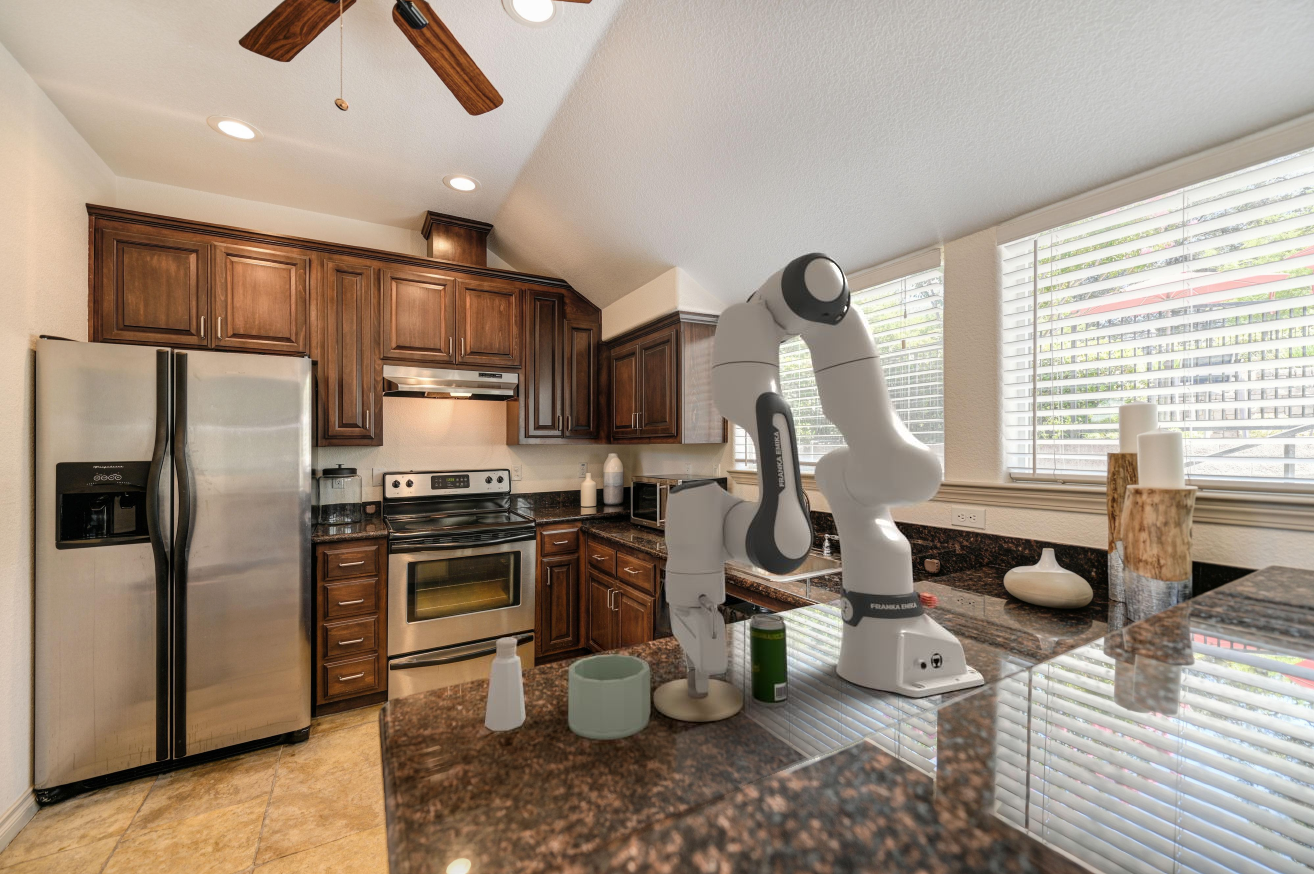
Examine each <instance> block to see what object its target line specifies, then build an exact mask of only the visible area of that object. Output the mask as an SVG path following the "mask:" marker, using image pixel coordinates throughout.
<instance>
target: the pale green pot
mask: <svg viewBox="0 0 1314 874" xmlns="http://www.w3.org/2000/svg"><path fill="white" fill-rule="evenodd" d="M567 703H568V709H567V710H568V716H567V717H568V719H567V721H568V724H567V725H568V728H569V729H570V730H571V731H572V732H573V733H574V734H576V735H577V736H580V737H583V738H585V739H586V738H587V739H591V740H601V741H603V740H605V741H608V740H617V739H619V740H620V739H622V738H623V739H624V738H627V737H631V736H633V735H635V734H638V733H640V732H641V731H643V730H644V729H646V727H647V726H648V725H649V723H650V715H651V667H650V666H649V663H648V661H647V660H645V659H642V658H640V657H637V656H634V655H629V654H627V655H626V654H617V653H615V654H599V655H594V656H589V657H585V658H581V659H578V660H576V661H575V662H573V663H572V664H570V665H569V666H568V702H567Z"/></svg>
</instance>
